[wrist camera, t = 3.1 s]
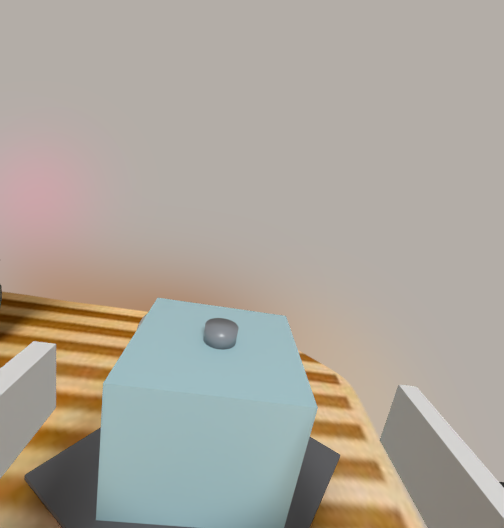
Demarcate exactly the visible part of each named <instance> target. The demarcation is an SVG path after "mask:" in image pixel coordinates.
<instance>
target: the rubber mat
mask: <svg viewBox="0 0 504 528" xmlns="http://www.w3.org/2000/svg"><path fill="white" fill-rule="evenodd" d="M100 434H101V428H99V429H98V430H96V431H94V432H93V433H91V434H90V435H88V436H86V437H85V438H83V439H82V440H80V441H78V442H77V443H75V444H74V445H72V446H70V447H69V448H67V449H66V450H64V451H62V452H61V453H59V454H58V455H56V456H54V457H53V458H51V459H50V460H48V461H46V462H45V463H43V464H42V465H40V466H38V467H37V468H35V469H34V470H32V471H30V472H29V473H27V474H26V475H25V481H26V482H27V483H28V485H29V486H30V487H31V488H32V490H33V491H34V492H35V493H36V495H37V496H38V497H39V499H40V500H41V501H42V502H43V504H44V505H45V506H46V507H47V509H48V510H49V511H50V513H51V514H52V515H53V516H54V518H55V519H56V520H57V521H58V523H59V524H60V525H61V527H62V528H195V527H181V526H168V525H154V524H141V523H127V522H114V521H100V520H96V509H97V490H98V471H99V453H100ZM339 458H340V454H338V453H336V452H335V451H333V450H331V449H330V448H328V447H326V446H325V445H323V444H321V443H319V442H318V441H316V440H314V439H313V438H311V437H309V441H308V444H307V448H306V451H305V455H304V458H303V462H302V465H301V469H300V473H299V476H298V480H297V483H296V487H295V490H294V494H293V498H292V501H291V505H290V508H289V512H288V515H287V519H286V523H285V526H284V528H310V525H311V523H312V521H313V518H314V516H315V514H316V511H317V509H318V507H319V504H320V502H321V500H322V497H323V495H324V493H325V490H326V488H327V486H328V484H329V481H330V479H331V477H332V474H333V472H334V470H335V467H336V465H337V463H338V460H339Z"/></svg>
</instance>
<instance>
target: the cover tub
mask: <svg viewBox="0 0 504 528" xmlns="http://www.w3.org/2000/svg"><path fill="white" fill-rule="evenodd" d="M317 408H318V407H317V405H316V402H315V399H314V396H313V393H312V390H311V387H310V384H309V381H308V379H307V376H306V373H305V370H304V367H303V364H302V361H301V358H300V355H299V353H298V350H297V347H296V344H295V341H294V338H293V336H292V333H291V329H290V327H289V324H288V321H287V318H286V316H282V315H275V314H267V313H261V312H254V311H247V310H240V309H233V308H226V307H219V306H212V305H204V304H197V303H191V302H183V301H176V300H169V299H163V298H157V300H156V301H155V303H154V304H153V306H152V308H151V309H150V311H149V312H148V314H147V315H146V317H145V319H144V320H143V322H142V323H141V325H140V326H139V328H138V330H137V331H136V333H135V334H134V336H133V337H132V339H131V341H130V342H129V344H128V345H127V347H126V348H125V350H124V352H123V353H122V355H121V356H120V358H119V359H118V361H117V362H116V364H115V366H114V367H113V369H112V370H111V372H110V373H109V375H108V377H107V378H106V380H105V381H104V383H103V397H102V416H101V434H100V453H99V471H98V490H97V509H96V520H100V521H114V522H127V523H141V524H154V525H168V526H181V527H195V528H284V526H285V523H286V519H287V515H288V512H289V508H290V505H291V501H292V498H293V494H294V490H295V487H296V483H297V480H298V476H299V473H300V469H301V465H302V462H303V458H304V455H305V451H306V448H307V444H308V441H309V437H310V433H311V430H312V426H313V423H314V419H315V416H316V412H317Z"/></svg>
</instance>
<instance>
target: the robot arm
mask: <svg viewBox="0 0 504 528" xmlns="http://www.w3.org/2000/svg"><path fill="white" fill-rule="evenodd" d="M55 408H56V344H52V343H44V342H35V341H34V342H32V343H31V344H30V345H29V346H27V347H26V348H25V349H24V350H22V351H21V352H20V353H19V354H18V355H16V356H15V357H14V358H13V359H11V360H10V361H9V362H8V363H6V364H5V365H4V366H3V367H2V368H0V478H1V477H2V476H3V474H4V473H5V472H6V471H7V469H8V468H9V467H10V466H11V464H12V463H13V462H14V460H15V459H16V458H17V457H18V455H19V454H20V453H21V451H22V450H23V449H24V448H25V446H26V445H27V444H28V443H29V441H30V440H31V439H32V437H33V436H34V435H35V434H36V432H37V431H38V430H39V429H40V427H41V426H42V425H43V423H44V422H45V421H46V420H47V418H48V417H49V416H50V414H51V413H52V412H53V411H54V409H55ZM380 441H381V443H382V445H383V447H384V449H385V450H386V452H387V454H388V456H389V458H390V460H391V461H392V463H393V465H394V467H395V469H396V471H397V472H398V474H399V476H400V478H401V480H402V482H403V483H404V485H405V487H406V489H407V491H408V492H409V494H410V496H411V498H412V500H413V502H414V503H415V505H416V507H417V509H418V511H419V513H420V514H421V516H422V518H423V520H424V522H425V524H426V525H427V527H428V528H504V482H498V481H497V479H496V478H495V477H494V476H493V475H492V474H491V472H490V471H489V470H488V469H487V468H486V467H485V465H483V463H482V462H481V461H480V460H479V458H478V457H477V456H476V455H475V454H474V453H473V452H472V450H471V449H470V448H469V447H468V446H467V445H466V443H465V442H464V441H463V440H462V439H461V438H460V436H459V435H458V434H457V433H456V432H455V431H454V430H453V428H452V427H451V426H450V425H449V424H448V423H447V421H446V420H445V419H444V418H443V417H442V416H441V414H440V413H439V412H438V411H437V410H436V409H435V407H434V406H433V405H432V404H431V403H430V402H429V400H428V399H427V398H426V397H425V396H424V395H423V394H422V392H421V391H420V390H419V389H418V388H417V387H415V386H407V385H398V388H397V391H396V394H395V397H394V400H393V403H392V406H391V409H390V412H389V414H388V418H387V420H386V423H385V426H384V429H383V432H382V435H381V438H380Z"/></svg>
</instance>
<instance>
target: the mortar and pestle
mask: <svg viewBox="0 0 504 528" xmlns="http://www.w3.org/2000/svg"><path fill="white" fill-rule="evenodd" d="M1 300H2V290H1V285H0V305H1Z"/></svg>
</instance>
